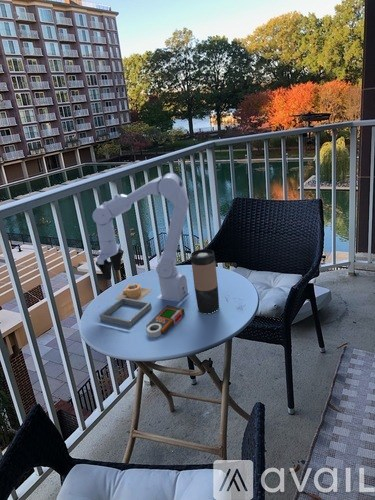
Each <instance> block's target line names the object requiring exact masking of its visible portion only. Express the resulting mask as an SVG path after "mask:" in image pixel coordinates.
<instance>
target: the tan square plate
mask: <svg viewBox="0 0 375 500" xmlns="http://www.w3.org/2000/svg"><path fill="white" fill-rule="evenodd" d="M129 285H130V284H129ZM135 288H136V287H135V285H130V289H135ZM152 291H153V289H150V288H146V287H145V288H144V287H141V292H142V293H141V295H140V296H138V297H134V298H129V297H127V295H126V294H124V293H123V292H122V293H121V294H119V295H118V296H117V297H115V299H116V300H120V299H121V298H128V299H133V300H139V301H142V299H143V298H144V297H146V296H147V295H148V294H150V293H151V292H152Z"/></svg>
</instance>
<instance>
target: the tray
mask: <svg viewBox="0 0 375 500" xmlns="http://www.w3.org/2000/svg"><path fill="white" fill-rule="evenodd" d="M124 304H125V305H130V306H135V307H141V308H140V310H139V311H137V312H136V313H135V314H134V315H133V316H132V317H131V318H129V319H124V318H119V317H114V316H111V315H112V314H113V313H114V312H115V311H116V310H118V309H119V308H120V307H121V306H122V305H124ZM152 308H153V307H152V302H149V301H143V300H140V301H139V300H133V299H128V298H121V299H118V301H116V302H115V303H114V304H112V305H111V306H110V307H108V308H107V309H106V310H105V311H103V312H102V313H101V314H100V315H99V318H100V321H103V322H107V323H111V324H116V325H121V326H123V327H129V328H131V327H132V326H133V325H134V324H136V323H137V322H138V321H139V320H140V319H141V318H143V316H144V315H145V314H146V313H148V312H149V311H150V310H151V309H152Z"/></svg>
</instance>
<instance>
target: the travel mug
mask: <svg viewBox="0 0 375 500" xmlns="http://www.w3.org/2000/svg"><path fill="white" fill-rule="evenodd" d="M215 255H216V254H215V252H214V250H213V249H207V248H203V249H202V248H201V249H197V250H195V251H192V252H191V254H190V260H191V268H192V277H193V287H194V293H195V299H196V305H197V310H198V312H199V313H200V314H203V313H206V314H205V315H209V314H208V313H211V314H213V313H212V312H214V311H216V310H218V311H219V309H220V300H219V299H220V297H219V285H218V283H219V282H218V277H217V265H216V256H215ZM218 308H219V309H218ZM216 312H217V311H216ZM214 313H215V312H214Z"/></svg>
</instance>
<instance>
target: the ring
mask: <svg viewBox="0 0 375 500" xmlns="http://www.w3.org/2000/svg"><path fill="white" fill-rule="evenodd" d="M130 285H135V287H136V288H135V289H130ZM141 288H142V287H141V284H139V283H135V282H134V283H130V284H127V286H125V288H124V289H123V290H122V293H124V294H126V295H127V297H129V298H134V297H138V296H140V295H141V293H142V292H141Z"/></svg>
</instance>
